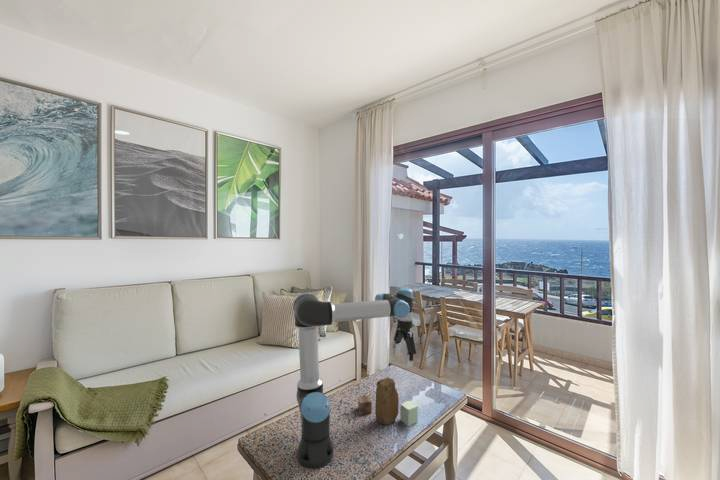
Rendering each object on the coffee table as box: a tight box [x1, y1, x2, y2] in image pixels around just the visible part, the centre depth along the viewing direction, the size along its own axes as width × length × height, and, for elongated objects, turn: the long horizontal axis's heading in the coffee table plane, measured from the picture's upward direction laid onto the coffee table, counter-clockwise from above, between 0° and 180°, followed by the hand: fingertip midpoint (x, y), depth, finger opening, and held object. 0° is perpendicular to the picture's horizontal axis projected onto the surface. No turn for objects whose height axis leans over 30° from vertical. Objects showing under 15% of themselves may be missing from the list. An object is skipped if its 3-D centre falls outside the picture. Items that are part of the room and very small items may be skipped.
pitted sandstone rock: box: [374, 377, 400, 425], centre depth 151 cm, size 11×8×20 cm
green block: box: [399, 400, 419, 427], centre depth 150 cm, size 6×6×8 cm
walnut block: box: [357, 395, 373, 415], centre depth 159 cm, size 6×6×6 cm
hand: (403, 361), depth 153 cm, fingers open, 13 cm apart
